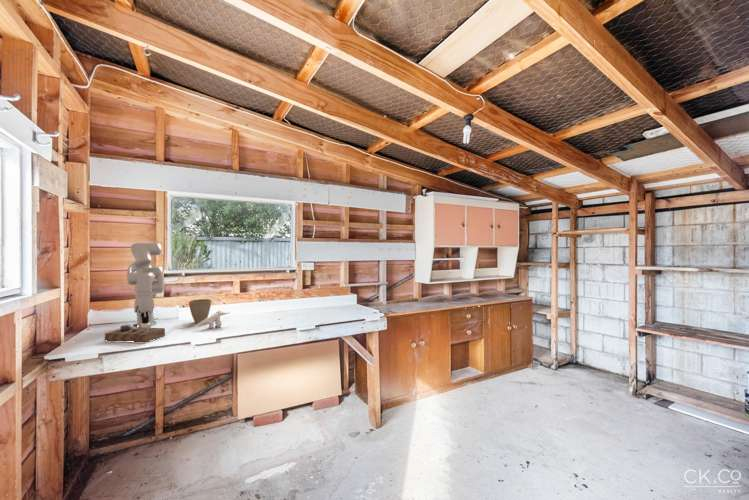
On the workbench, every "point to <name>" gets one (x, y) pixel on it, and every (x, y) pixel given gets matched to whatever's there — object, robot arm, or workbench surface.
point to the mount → (135, 335)
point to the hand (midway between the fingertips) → (145, 322)
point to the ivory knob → (145, 326)
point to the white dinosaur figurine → (213, 319)
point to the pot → (135, 327)
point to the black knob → (125, 328)
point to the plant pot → (200, 309)
